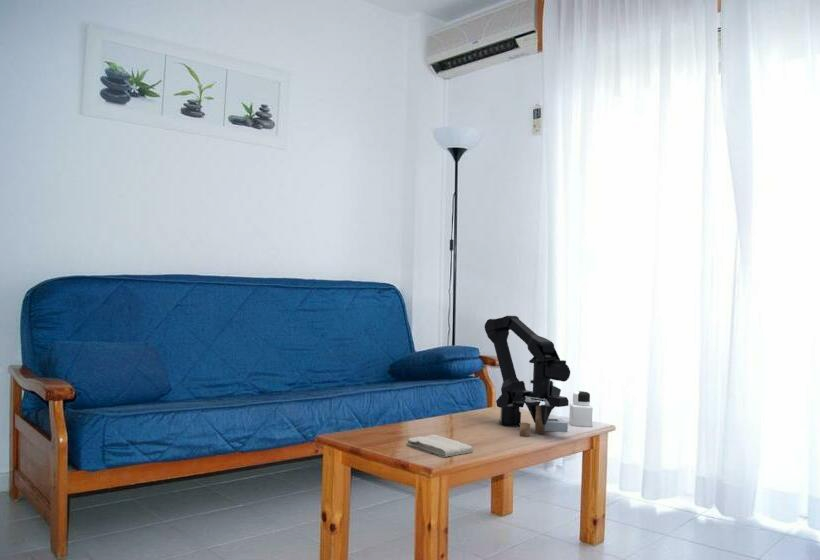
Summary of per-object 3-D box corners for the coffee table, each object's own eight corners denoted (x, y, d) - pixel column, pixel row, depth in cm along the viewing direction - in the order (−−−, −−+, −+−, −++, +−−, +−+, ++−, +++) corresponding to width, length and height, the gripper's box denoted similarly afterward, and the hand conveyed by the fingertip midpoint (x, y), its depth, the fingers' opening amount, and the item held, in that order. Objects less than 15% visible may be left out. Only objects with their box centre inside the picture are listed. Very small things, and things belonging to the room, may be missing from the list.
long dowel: (536, 433, 216) (536, 406, 217) (534, 431, 220) (534, 405, 220) (545, 434, 217) (546, 407, 217) (543, 432, 220) (544, 405, 220)
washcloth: (432, 441, 201) (433, 431, 201) (474, 454, 187) (475, 443, 187) (403, 446, 193) (404, 436, 193) (445, 459, 179) (445, 448, 180)
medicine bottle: (588, 423, 240) (589, 390, 240) (592, 427, 233) (593, 393, 233) (569, 422, 240) (570, 389, 241) (572, 425, 233) (573, 392, 234)
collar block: (541, 430, 222) (541, 422, 222) (535, 425, 231) (536, 417, 231) (567, 431, 222) (567, 423, 222) (560, 426, 231) (561, 418, 231)
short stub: (520, 436, 211) (521, 424, 211) (519, 434, 215) (519, 422, 215) (530, 437, 211) (531, 424, 212) (528, 434, 215) (529, 422, 215)
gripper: (579, 379, 217) (577, 426, 216) (534, 373, 231) (532, 417, 230) (559, 381, 209) (557, 429, 209) (514, 374, 224) (512, 420, 223)
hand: (540, 423), depth 218 cm, fingers closed on long dowel, 3 cm apart
